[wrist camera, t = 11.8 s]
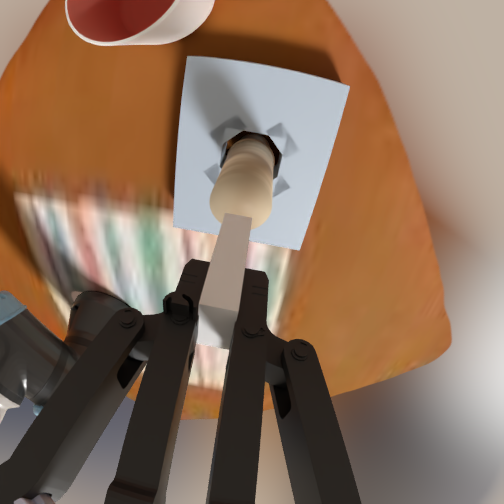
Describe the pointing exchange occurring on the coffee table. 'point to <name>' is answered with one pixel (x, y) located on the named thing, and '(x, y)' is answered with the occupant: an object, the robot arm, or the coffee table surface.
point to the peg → (245, 181)
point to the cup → (135, 20)
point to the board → (258, 121)
